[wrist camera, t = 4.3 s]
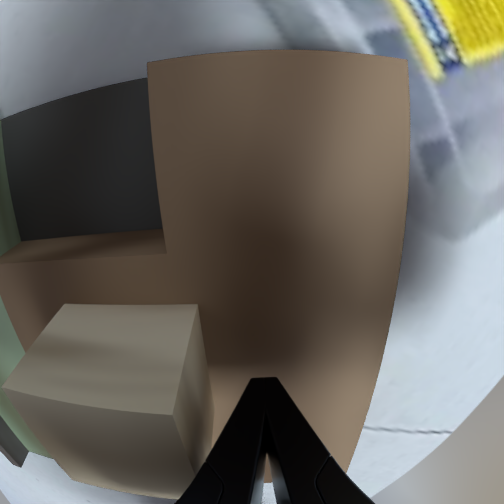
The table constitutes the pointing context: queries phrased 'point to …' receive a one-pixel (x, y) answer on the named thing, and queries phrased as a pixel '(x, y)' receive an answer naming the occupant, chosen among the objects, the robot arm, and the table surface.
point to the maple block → (120, 396)
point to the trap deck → (219, 221)
